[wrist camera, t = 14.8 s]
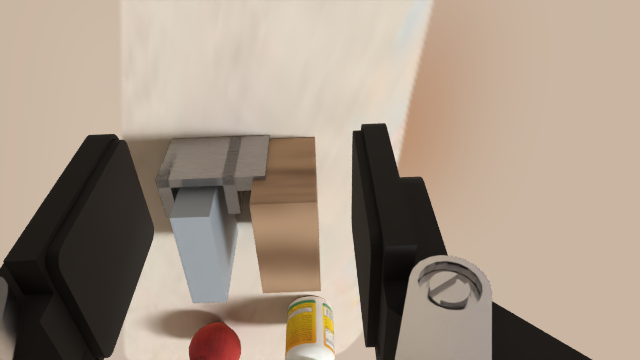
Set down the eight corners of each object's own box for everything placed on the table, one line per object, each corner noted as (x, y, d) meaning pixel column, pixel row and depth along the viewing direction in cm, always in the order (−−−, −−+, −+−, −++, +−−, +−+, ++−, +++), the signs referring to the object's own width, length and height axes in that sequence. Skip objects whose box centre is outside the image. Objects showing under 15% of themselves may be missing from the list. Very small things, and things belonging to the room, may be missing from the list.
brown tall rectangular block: (258, 139, 43) (249, 204, 36) (314, 137, 43) (316, 202, 36) (269, 222, 49) (263, 293, 42) (318, 220, 49) (320, 290, 42)
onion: (199, 337, 60) (186, 399, 54) (192, 308, 57) (177, 370, 51) (245, 337, 61) (238, 398, 54) (241, 307, 57) (233, 369, 51)
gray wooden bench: (172, 139, 43) (155, 180, 38) (269, 135, 43) (264, 175, 38) (180, 173, 45) (166, 216, 40) (273, 169, 45) (269, 212, 40)
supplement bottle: (340, 301, 57) (345, 377, 49) (320, 327, 60) (322, 402, 52) (297, 289, 55) (296, 365, 48) (280, 316, 58) (276, 392, 51)
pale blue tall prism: (180, 151, 44) (156, 218, 37) (224, 150, 44) (209, 216, 37) (199, 232, 50) (181, 303, 43) (238, 231, 50) (226, 302, 43)
